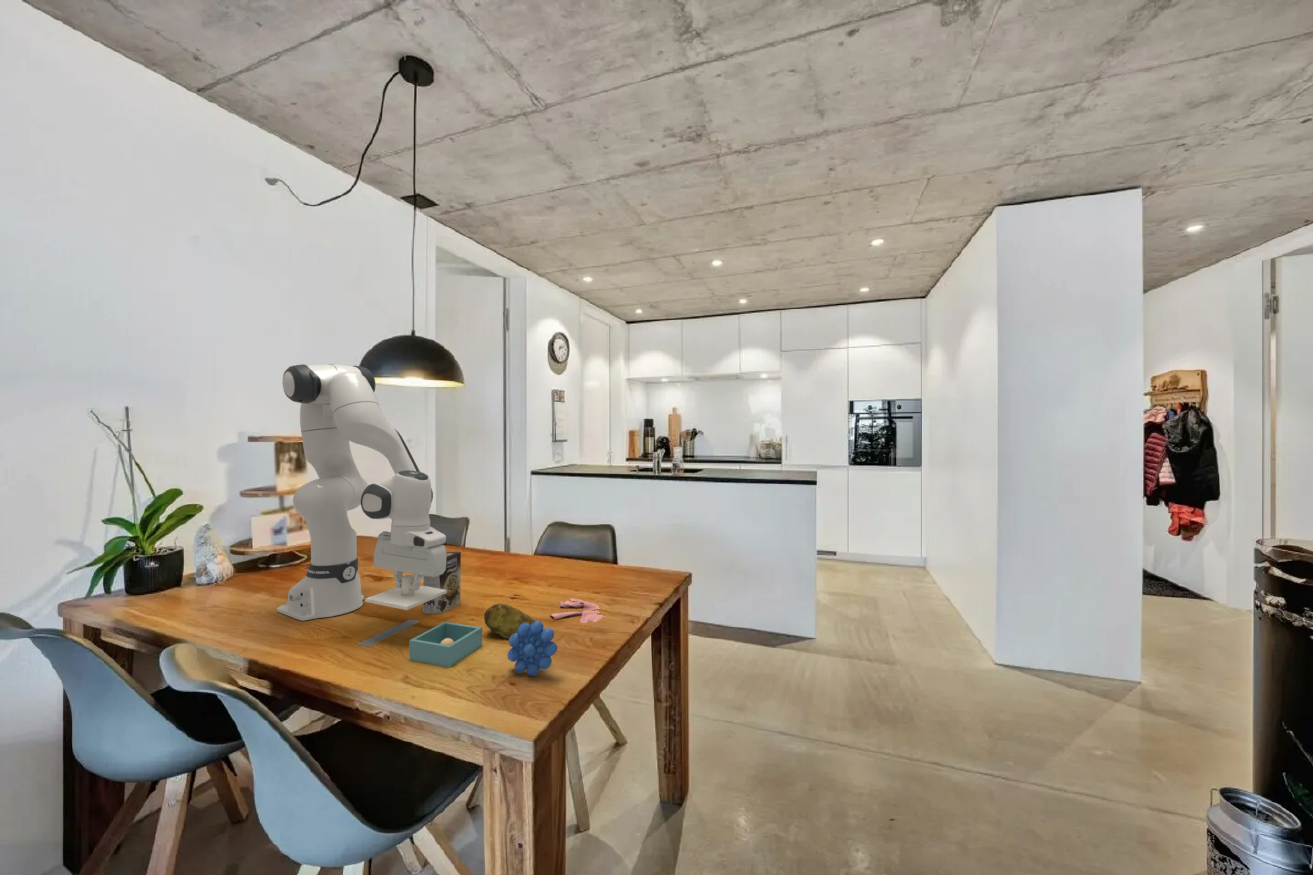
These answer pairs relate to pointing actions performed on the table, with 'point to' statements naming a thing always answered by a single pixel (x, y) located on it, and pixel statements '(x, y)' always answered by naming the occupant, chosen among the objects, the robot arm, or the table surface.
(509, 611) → the potato
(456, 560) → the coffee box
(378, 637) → the mat
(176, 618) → the table surface
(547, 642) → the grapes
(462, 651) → the dish
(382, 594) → the lid
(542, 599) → the table surface
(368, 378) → the robot arm
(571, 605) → the cloth
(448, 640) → the apricot
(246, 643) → the table surface
